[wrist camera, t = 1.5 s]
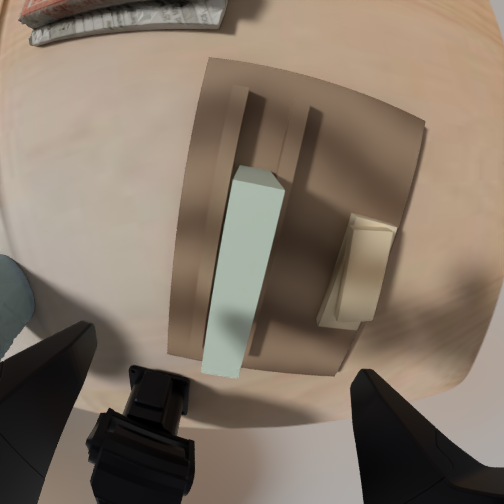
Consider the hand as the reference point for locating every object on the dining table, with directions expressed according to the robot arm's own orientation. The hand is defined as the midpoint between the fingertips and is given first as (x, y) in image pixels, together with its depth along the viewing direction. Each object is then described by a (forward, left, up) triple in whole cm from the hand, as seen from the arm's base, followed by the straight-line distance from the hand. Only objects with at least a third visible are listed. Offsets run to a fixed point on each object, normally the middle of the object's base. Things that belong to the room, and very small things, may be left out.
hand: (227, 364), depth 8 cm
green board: (0, 0, -12) cm, 12 cm away
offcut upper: (-1, -9, -11) cm, 14 cm away
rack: (0, -4, -13) cm, 14 cm away
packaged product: (+19, +13, -14) cm, 27 cm away
